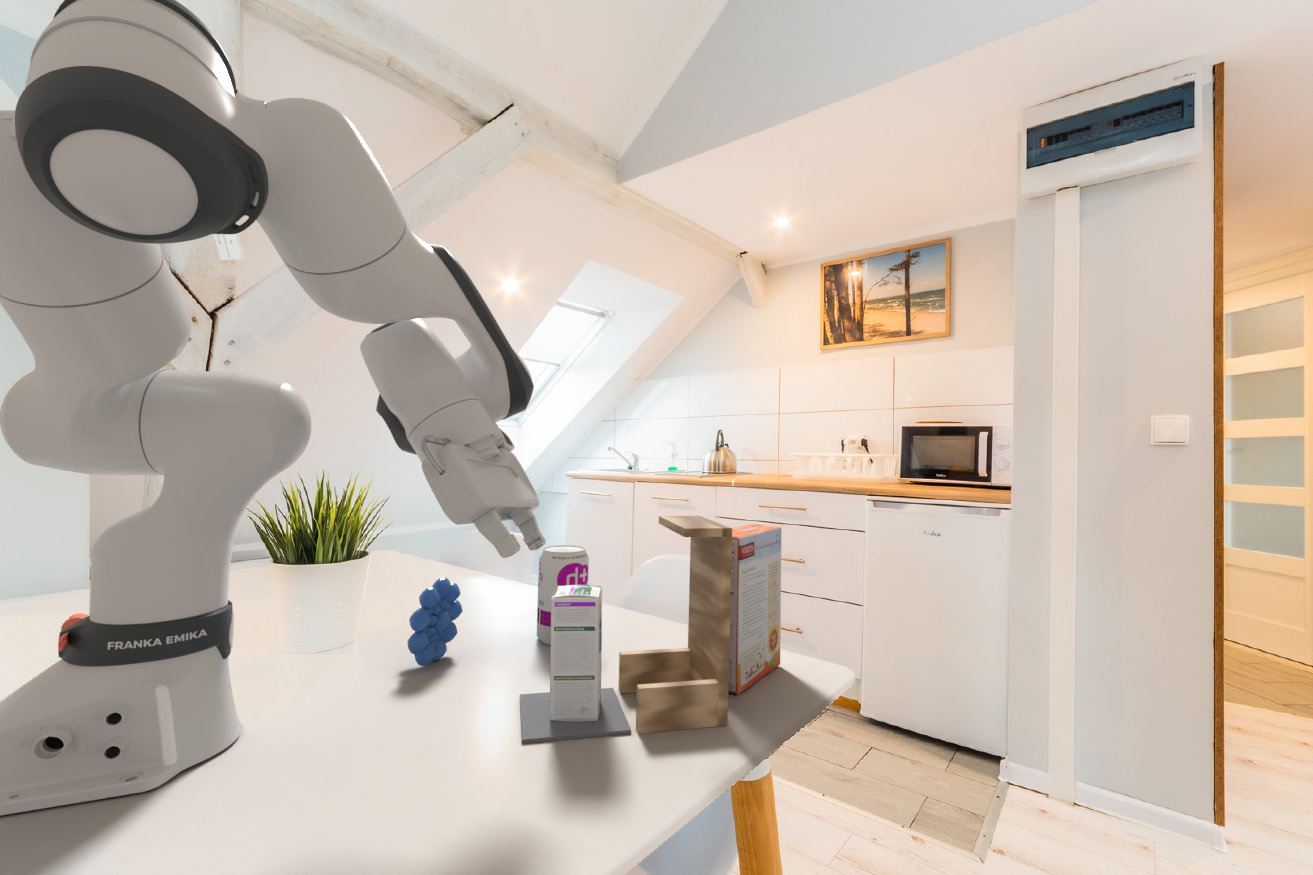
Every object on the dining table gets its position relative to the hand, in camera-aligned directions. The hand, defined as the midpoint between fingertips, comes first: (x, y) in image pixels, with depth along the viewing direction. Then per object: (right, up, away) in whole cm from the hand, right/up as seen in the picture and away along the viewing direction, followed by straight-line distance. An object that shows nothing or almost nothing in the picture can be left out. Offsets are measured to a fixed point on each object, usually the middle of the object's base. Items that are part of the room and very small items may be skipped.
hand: (526, 550), depth 64 cm
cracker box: (+26, -22, +22) cm, 41 cm away
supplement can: (-2, -22, +36) cm, 42 cm away
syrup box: (+4, -21, +8) cm, 23 cm away
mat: (+4, -21, +8) cm, 23 cm away
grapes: (-20, -21, +25) cm, 38 cm away
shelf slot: (+15, -21, +11) cm, 29 cm away
